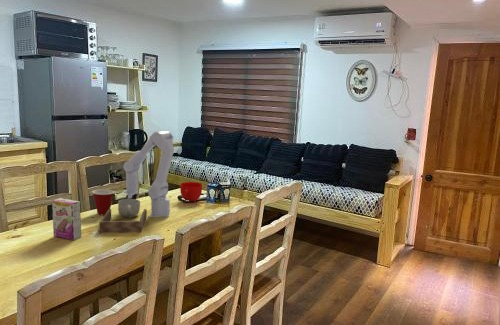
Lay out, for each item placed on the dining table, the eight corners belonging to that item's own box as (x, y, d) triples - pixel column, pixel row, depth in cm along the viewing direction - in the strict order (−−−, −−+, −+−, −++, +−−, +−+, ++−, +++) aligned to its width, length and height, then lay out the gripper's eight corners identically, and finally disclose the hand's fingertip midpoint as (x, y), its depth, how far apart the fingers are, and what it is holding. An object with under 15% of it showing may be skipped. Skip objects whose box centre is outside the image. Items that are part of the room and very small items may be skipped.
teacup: (121, 212, 205) (120, 197, 204) (142, 212, 206) (142, 198, 205) (114, 221, 192) (114, 205, 190) (137, 221, 193) (136, 205, 191)
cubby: (146, 218, 197) (146, 209, 196) (141, 232, 179) (141, 221, 178) (108, 218, 195) (108, 209, 194) (99, 232, 176) (99, 222, 175)
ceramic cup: (174, 204, 222) (174, 187, 221) (184, 197, 239) (184, 181, 237) (196, 206, 220) (196, 189, 219) (204, 198, 237) (204, 182, 235)
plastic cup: (119, 212, 205) (118, 190, 202) (102, 218, 196) (101, 194, 193) (105, 208, 210) (105, 187, 208) (88, 213, 201) (87, 191, 199)
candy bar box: (52, 236, 169) (50, 200, 166) (61, 233, 174) (60, 197, 171) (73, 241, 166) (71, 203, 163) (82, 237, 170) (80, 200, 167)
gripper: (126, 179, 213) (126, 203, 216) (121, 186, 199) (122, 211, 202) (139, 180, 214) (140, 203, 217) (135, 186, 200) (136, 211, 203)
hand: (132, 207), depth 209 cm, fingers closed
